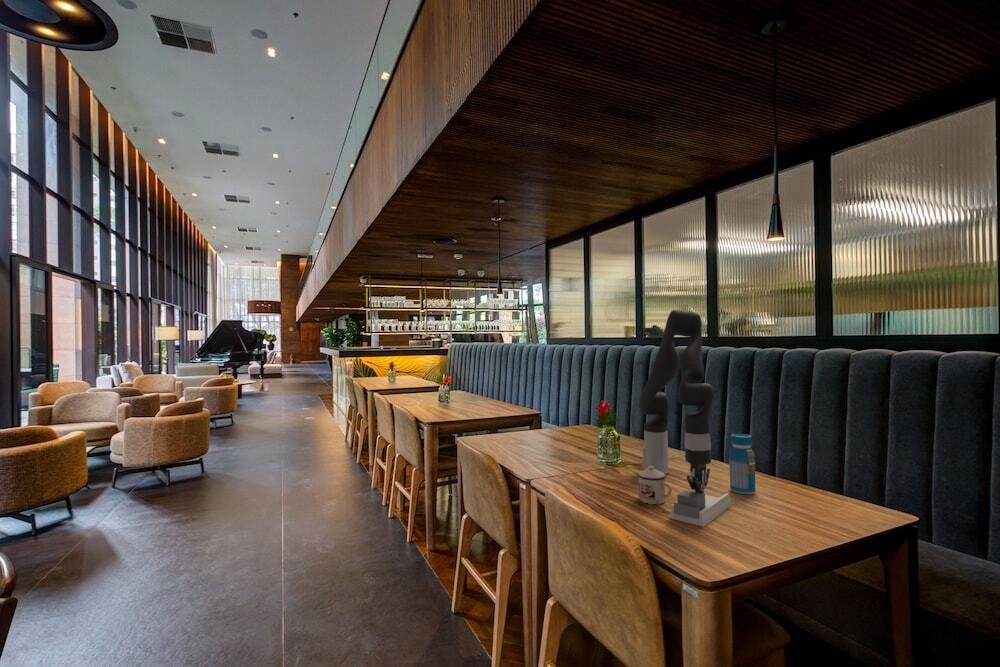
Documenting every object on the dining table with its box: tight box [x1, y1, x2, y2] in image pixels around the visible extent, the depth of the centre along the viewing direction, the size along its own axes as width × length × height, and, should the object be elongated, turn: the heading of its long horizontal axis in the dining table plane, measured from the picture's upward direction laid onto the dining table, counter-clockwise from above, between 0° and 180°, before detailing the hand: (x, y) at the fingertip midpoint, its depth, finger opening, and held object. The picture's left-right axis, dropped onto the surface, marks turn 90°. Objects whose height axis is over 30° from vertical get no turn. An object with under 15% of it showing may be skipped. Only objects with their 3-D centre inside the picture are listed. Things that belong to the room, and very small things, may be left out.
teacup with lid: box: [637, 466, 673, 505], centre depth 154 cm, size 12×9×12 cm
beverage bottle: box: [728, 433, 757, 495], centre depth 164 cm, size 8×8×20 cm
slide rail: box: [669, 490, 732, 528], centre depth 144 cm, size 10×24×5 cm, turn 135°
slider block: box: [676, 489, 706, 512], centre depth 139 cm, size 6×6×5 cm
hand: (699, 502), depth 142 cm, fingers closed
